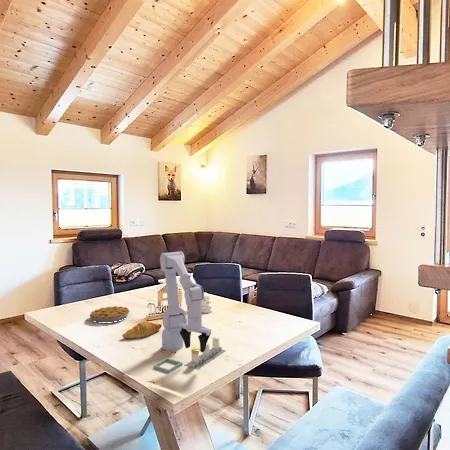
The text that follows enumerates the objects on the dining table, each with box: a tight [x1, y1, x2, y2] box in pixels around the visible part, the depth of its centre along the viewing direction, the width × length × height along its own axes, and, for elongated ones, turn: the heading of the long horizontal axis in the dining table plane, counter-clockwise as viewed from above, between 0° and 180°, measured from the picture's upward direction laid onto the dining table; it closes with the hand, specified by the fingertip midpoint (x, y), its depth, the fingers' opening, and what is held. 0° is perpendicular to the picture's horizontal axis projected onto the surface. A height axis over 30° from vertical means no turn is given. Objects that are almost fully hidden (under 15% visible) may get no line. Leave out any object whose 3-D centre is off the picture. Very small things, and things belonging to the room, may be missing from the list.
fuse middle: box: [202, 342, 211, 359], centre depth 153 cm, size 3×3×6 cm
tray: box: [152, 357, 183, 374], centre depth 146 cm, size 8×8×2 cm
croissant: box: [121, 320, 163, 339], centre depth 183 cm, size 21×10×8 cm, turn 129°
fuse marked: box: [190, 348, 200, 366], centre depth 147 cm, size 3×3×6 cm
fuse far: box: [211, 336, 220, 353], centre depth 159 cm, size 3×3×6 cm
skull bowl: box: [201, 292, 213, 314], centre depth 223 cm, size 10×14×12 cm
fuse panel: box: [184, 345, 227, 370], centre depth 153 cm, size 7×21×2 cm, turn 148°
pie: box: [89, 305, 130, 323], centre depth 210 cm, size 22×22×5 cm
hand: (195, 349), depth 147 cm, fingers open, 7 cm apart
